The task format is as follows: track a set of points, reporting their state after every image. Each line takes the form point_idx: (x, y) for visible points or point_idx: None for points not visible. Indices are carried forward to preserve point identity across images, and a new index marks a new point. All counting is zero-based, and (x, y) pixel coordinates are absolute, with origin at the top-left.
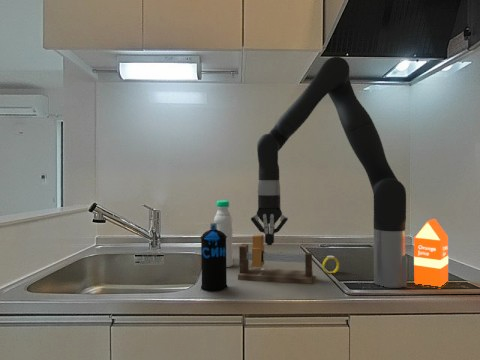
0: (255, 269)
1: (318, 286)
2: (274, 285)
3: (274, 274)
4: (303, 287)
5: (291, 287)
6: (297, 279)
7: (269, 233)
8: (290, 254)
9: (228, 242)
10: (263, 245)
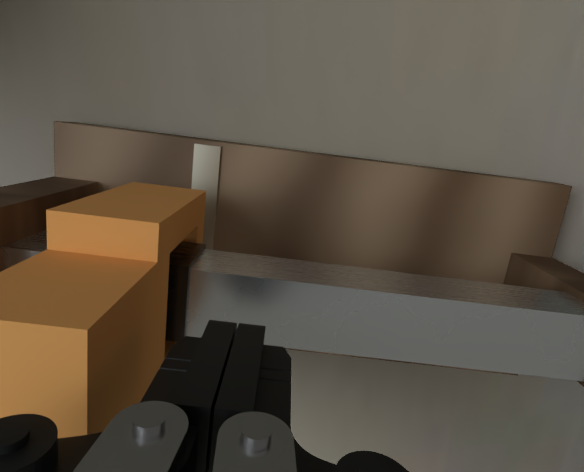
0: (148, 171)
1: (534, 397)
2: (298, 399)
3: None
4: (451, 419)
5: (387, 423)
6: None
7: (200, 413)
8: (452, 358)
9: None
10: (154, 275)
